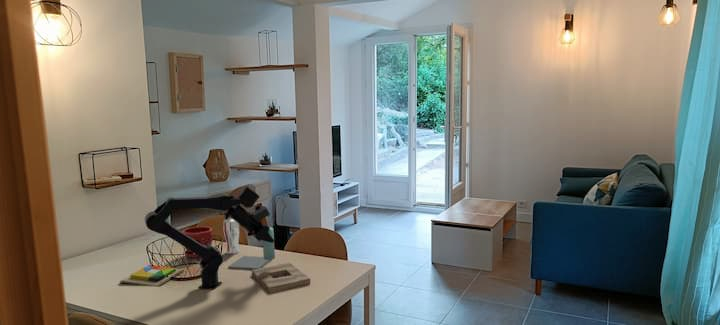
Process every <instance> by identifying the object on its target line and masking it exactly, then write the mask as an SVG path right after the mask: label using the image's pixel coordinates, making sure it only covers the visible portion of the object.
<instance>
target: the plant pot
mask: <svg viewBox="0 0 720 325" xmlns="http://www.w3.org/2000/svg"><path fill="white" fill-rule="evenodd" d="M181 232H183V233H184V234H186V235H188V236H189V237H191V238H192V239H194V240H195V241H197V242H199V243H200V244H202V245H205V246H207V245H208V244H209V243H210V244H211V245H212V244H213V228H212V227H209V226H195V227H189V228H185V229H183V230H181ZM184 249H185V251H184V254H185V256H186V257H188V258H191V259H197V258H198V259H199V258H200V257H199V256H198V255H197V254H196V253H195V254H193V253H194V252H192V251H191V250H189V249H188V248H186V247H184Z"/></svg>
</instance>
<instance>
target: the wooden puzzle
mask: <svg viewBox="0 0 720 325" xmlns="http://www.w3.org/2000/svg"><path fill="white" fill-rule="evenodd" d="M152 265H153V266H154V267H155V268H154V267H153V266H152ZM156 268H157V269H156ZM184 271H185V268H184V267H182V268H180V269H178V268H176V267H168V266H161V265H157V264H156V265H155V264H151V263H150V264H149V265H147V266H145V267H143V268H140V269H139V270H136V271H135V272H133V273H131V274H130V275H128V276H126V277H125V278H122V279H121V280H119V284H123V283H127V284H134V285H141V286H149V287H160V286H162V285H163V284H165V283H167V282H169V280H171V279H172V278H171V277H173V278H175V277H176V276H177V274H178V275H179V274H181V273H183V272H184ZM168 275H170V276H169V277H166V276H168ZM170 278H171V279H170Z"/></svg>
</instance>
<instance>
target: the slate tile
mask: <svg viewBox="0 0 720 325" xmlns="http://www.w3.org/2000/svg"><path fill="white" fill-rule="evenodd" d="M271 261H272V260H265V259H264V256H252V255H250V256H249V255H242V257H239V259H236V261H233V262H232V263H231V264H230V265H228V266H227V268H228V269H231V270H232V269H233V270H249V271H250V270H251V271H252V270H255V269H259V268H264V267H265V266H266V265H267V264H268V263H270V262H271Z"/></svg>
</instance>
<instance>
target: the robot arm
mask: <svg viewBox="0 0 720 325" xmlns="http://www.w3.org/2000/svg"><path fill="white" fill-rule="evenodd" d="M260 198H261V196H260V195H259V194H258V193H257V192H256V191H254V190H252V189H251V188H249V187H248V186H247V185H246V186H245V187H243V189H242V191H241V192H240V193H239V195H238V196H236V195H228V194H226V193H224V192H222V193H221V192H220V193H215V194H212V195H208V196H200V197H199V196H197V197H196V196H195V197H193V196H192V197H168V198H167V199H166V200H165V201H164V202H163V203H161V204H160V205H159V206H158V207H157V208H155V210H153V211H150V212H148V213H146V215H145V217H144V223H145V226H146V228H148V229H149V231H152V232H155V233H157V234H161V235H164V236H166V237H168V238H170V239H171V240H173V241H175V242H176V243H177V244H180V245H181V246H182V247H184V248H185V247H186V248H188V249H189V250H191V251H192V252H194V253H196V254H197V255H198V256H199V257H198V258H200V259H201V260H200V262H199V263H198V264H199V267H200V269H201V272H200V274H201V275H200V276H201V284H200V285H199V286H198V289H206V290H214V289H216V288H217V287H218V286H220V285H222V284H223V282H222V281H219V268H220V266H222V264H223V261H224V257H223V255H222V254H221V251H220V250H219V249H218V247H214V246H213V245H212V244H210V243H209V244H208V245H207V246H205V245H202V244H200V243H199V242H197V241H195V240H194V239H192V238H191V237H189V236H188V235H186V234H184V233H183V232H182V230H179V229H178V228H176V227H175V226H173V225H172V224H171V223H170V222H169V220H167V219H168V218H169V217H170V215H171V214H172V213H174V211H175V210H186V209H187V210H189V209H190V210H191V209H193V210H194V209H211V210H216V211H223V212H222V214H223V219H224V220H227V219H233V220H235V221H236V222H237V223H239V226H241V227H242V228H244V230H245V231H247V232H248V233H249V234H251V235H252V236H253V238H255V239H256V240H257V242H260V241H262V242H263V241H267V242H271V243H273V242H274V243H275V239H274V240H273V238H272V237H271V236H270V234H269V233H268V231H269V230H270V228H271V227H270V228H269V226H268V225H267V224H265V223H263V222H262V220H264V219H265V218H266V217H269V216H270V215H271V213H270V211H269V210H268V208H267V207H266V206H264V205H261V206H260V205H259V204H257V205H255V204H256V203H257V201H258V200H259V199H260ZM253 206H254V210H253V212H250V211H248V210H247V209H248V208H249V209H250V208H252V207H253Z"/></svg>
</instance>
